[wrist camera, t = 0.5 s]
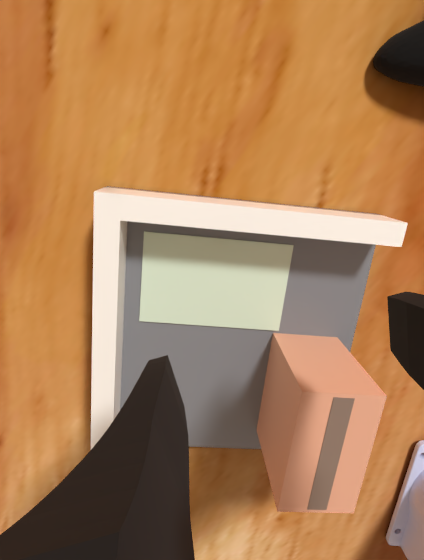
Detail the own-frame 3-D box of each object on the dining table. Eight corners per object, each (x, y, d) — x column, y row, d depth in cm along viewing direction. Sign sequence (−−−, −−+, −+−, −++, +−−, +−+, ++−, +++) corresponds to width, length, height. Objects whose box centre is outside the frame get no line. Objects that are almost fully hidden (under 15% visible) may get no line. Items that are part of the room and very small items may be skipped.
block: (315, 432, 25) (353, 513, 20) (256, 430, 25) (277, 511, 19) (337, 337, 23) (387, 396, 17) (272, 332, 23) (302, 392, 17)
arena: (322, 445, 26) (340, 481, 23) (101, 436, 25) (90, 473, 22) (377, 213, 22) (407, 223, 19) (107, 186, 20) (94, 191, 17)
